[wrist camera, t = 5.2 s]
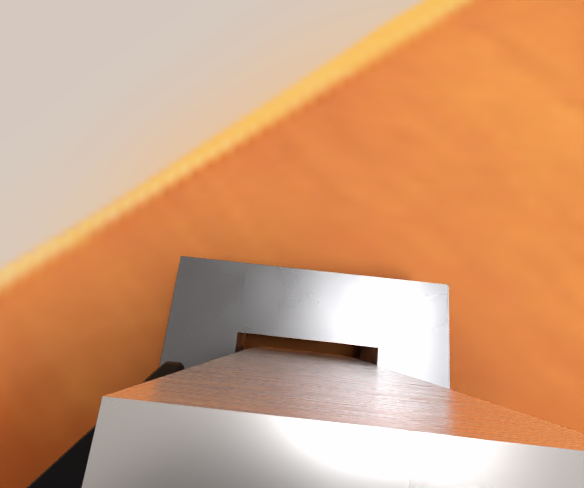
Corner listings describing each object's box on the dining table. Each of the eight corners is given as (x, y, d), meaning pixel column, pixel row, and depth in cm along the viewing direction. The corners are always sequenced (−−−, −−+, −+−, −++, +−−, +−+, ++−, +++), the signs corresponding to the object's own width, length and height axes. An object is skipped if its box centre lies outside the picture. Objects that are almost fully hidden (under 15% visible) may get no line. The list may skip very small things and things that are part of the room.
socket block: (415, 556, 13) (451, 619, 10) (155, 526, 13) (118, 579, 10) (418, 294, 16) (448, 284, 13) (200, 270, 16) (181, 256, 13)
